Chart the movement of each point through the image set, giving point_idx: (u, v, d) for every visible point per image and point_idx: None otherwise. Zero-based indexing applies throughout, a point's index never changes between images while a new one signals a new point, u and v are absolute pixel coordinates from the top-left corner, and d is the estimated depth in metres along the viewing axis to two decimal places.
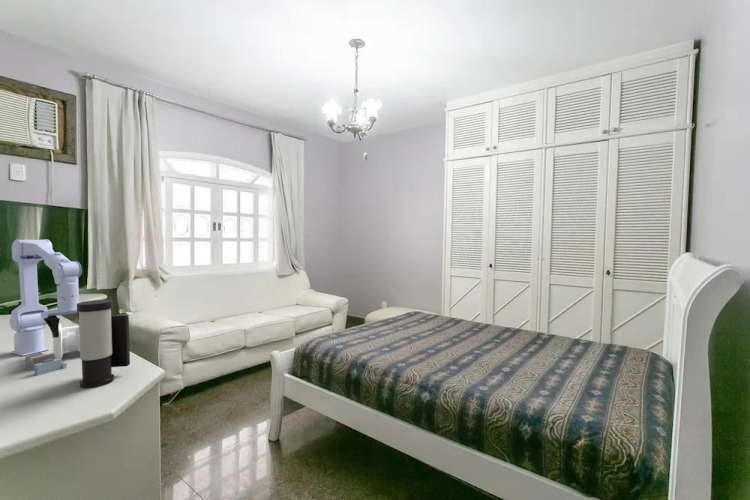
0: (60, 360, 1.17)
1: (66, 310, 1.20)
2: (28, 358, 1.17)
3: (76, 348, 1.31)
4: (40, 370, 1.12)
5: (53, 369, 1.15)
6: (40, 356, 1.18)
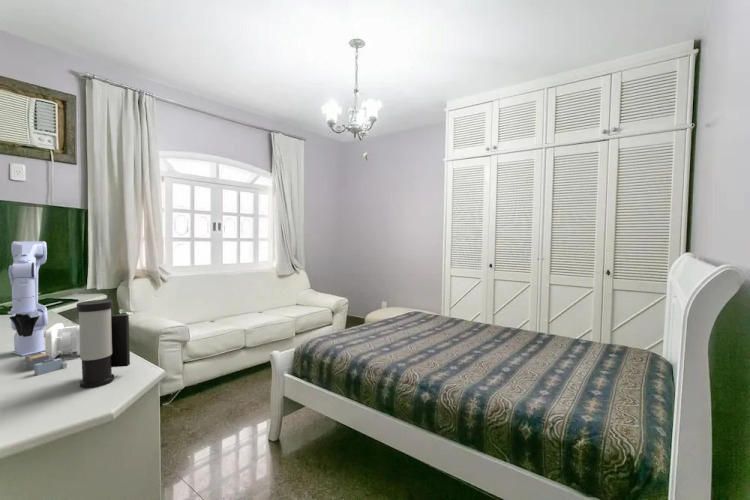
0: (60, 360, 1.17)
1: (13, 310, 1.20)
2: (28, 358, 1.17)
3: (72, 349, 1.31)
4: (40, 370, 1.12)
5: (53, 369, 1.15)
6: (40, 356, 1.18)
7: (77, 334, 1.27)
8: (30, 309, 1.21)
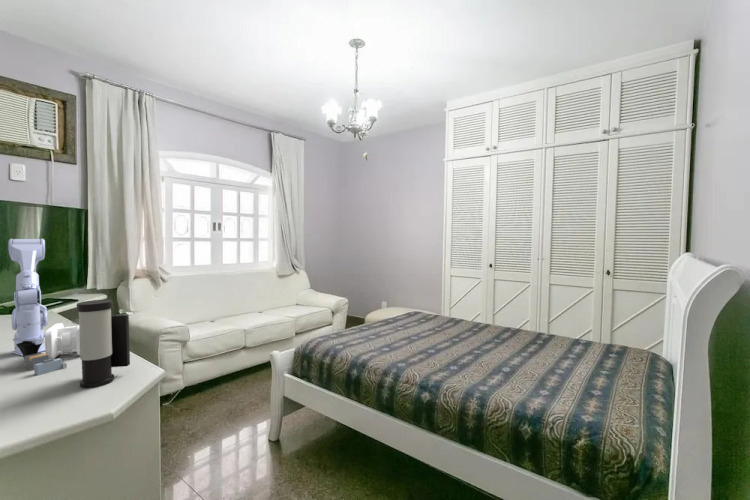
0: (60, 360, 1.17)
1: (18, 337, 1.19)
2: (27, 358, 1.17)
3: (72, 349, 1.31)
4: (40, 370, 1.12)
5: (53, 369, 1.15)
6: (39, 356, 1.18)
7: (77, 334, 1.27)
8: (35, 335, 1.20)
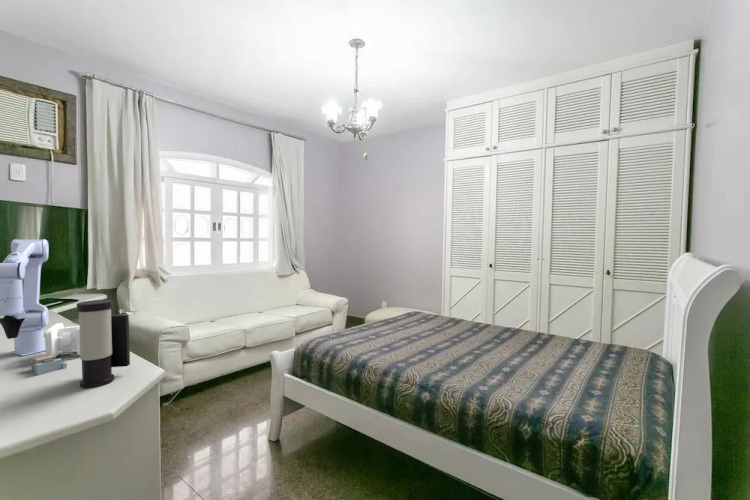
0: (60, 360, 1.17)
1: None
2: (34, 360, 1.15)
3: (72, 349, 1.31)
4: (40, 370, 1.12)
5: (53, 369, 1.15)
6: (46, 358, 1.16)
7: (77, 334, 1.27)
8: (17, 310, 1.16)
